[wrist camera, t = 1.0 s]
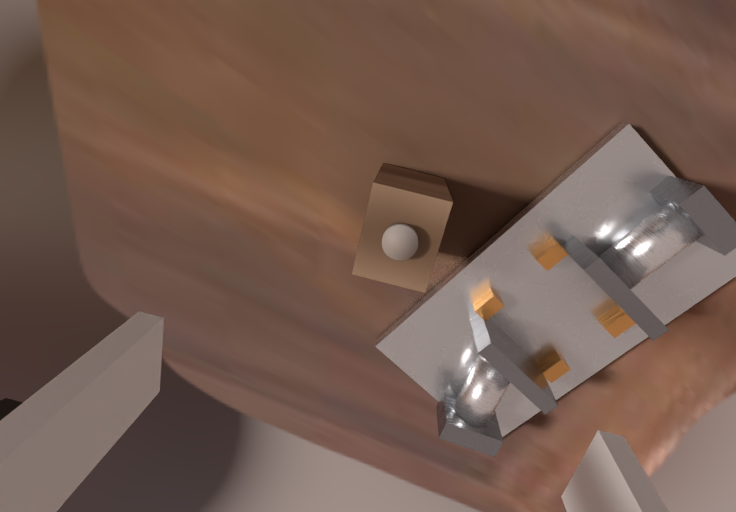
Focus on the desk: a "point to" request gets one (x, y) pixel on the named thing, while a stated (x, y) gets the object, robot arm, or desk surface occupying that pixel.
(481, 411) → the shaft
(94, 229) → the desk surface
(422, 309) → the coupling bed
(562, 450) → the desk surface
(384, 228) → the block
